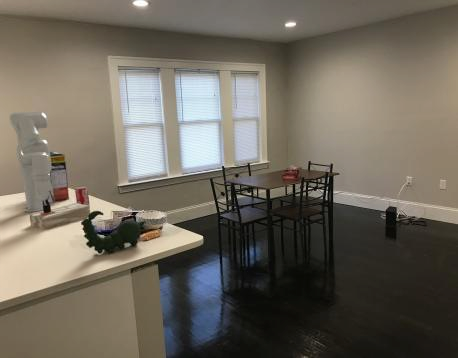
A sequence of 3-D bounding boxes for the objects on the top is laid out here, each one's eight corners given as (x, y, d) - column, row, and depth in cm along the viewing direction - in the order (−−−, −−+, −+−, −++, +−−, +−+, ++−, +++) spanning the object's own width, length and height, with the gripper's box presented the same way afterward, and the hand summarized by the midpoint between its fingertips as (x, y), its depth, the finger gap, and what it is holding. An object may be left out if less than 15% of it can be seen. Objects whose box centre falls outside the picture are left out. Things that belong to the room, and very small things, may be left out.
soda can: (85, 209, 220) (83, 188, 218) (75, 209, 221) (72, 188, 219) (92, 206, 227) (89, 186, 224) (81, 206, 228) (79, 186, 226)
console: (31, 225, 193) (29, 214, 192) (76, 213, 213) (74, 203, 212) (45, 229, 185) (43, 217, 184) (90, 215, 205) (89, 205, 204)
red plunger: (41, 220, 192) (40, 212, 192) (50, 217, 196) (49, 210, 196) (46, 221, 190) (45, 213, 189) (55, 218, 193) (54, 211, 193)
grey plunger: (66, 214, 204) (65, 207, 203) (74, 211, 208) (73, 205, 207) (71, 215, 201) (70, 208, 200) (79, 212, 205) (78, 205, 204)
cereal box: (70, 199, 252) (65, 152, 247) (52, 201, 246) (46, 154, 241) (62, 194, 274) (58, 151, 269) (46, 196, 268) (41, 152, 263)
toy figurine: (94, 264, 141) (153, 242, 155) (83, 217, 136) (145, 199, 150) (87, 257, 148) (144, 237, 162) (76, 213, 144) (136, 196, 158)
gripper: (27, 178, 190) (33, 212, 193) (42, 179, 182) (48, 215, 185) (41, 175, 196) (46, 209, 199) (57, 177, 188) (62, 212, 191)
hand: (47, 212), depth 192 cm, fingers closed
